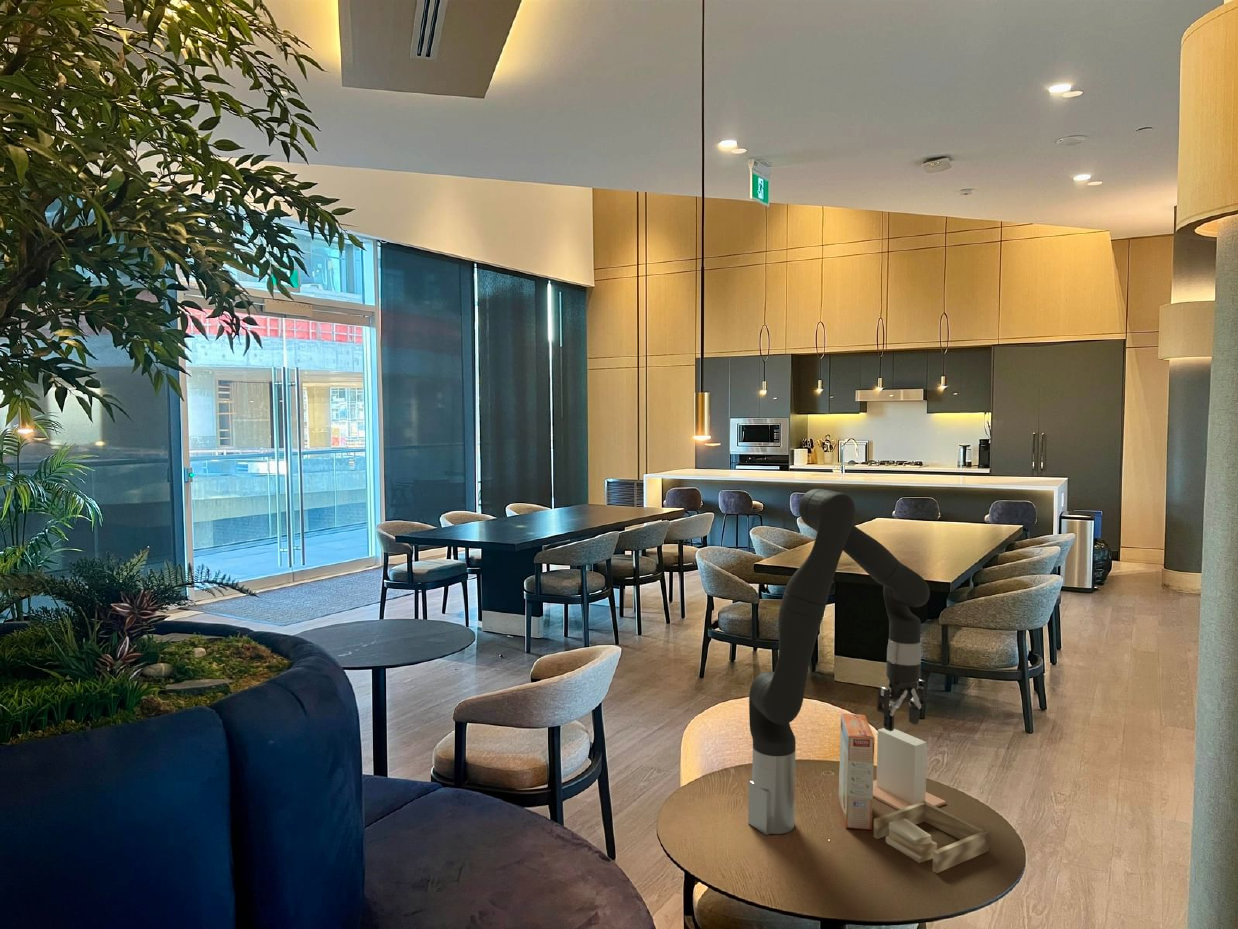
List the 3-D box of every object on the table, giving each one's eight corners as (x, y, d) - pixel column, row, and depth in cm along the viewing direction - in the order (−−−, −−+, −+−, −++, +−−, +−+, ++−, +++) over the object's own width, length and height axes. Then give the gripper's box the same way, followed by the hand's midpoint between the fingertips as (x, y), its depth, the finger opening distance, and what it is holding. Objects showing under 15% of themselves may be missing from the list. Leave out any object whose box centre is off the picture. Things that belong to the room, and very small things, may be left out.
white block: (913, 805, 187) (915, 745, 186) (876, 786, 196) (877, 729, 195) (925, 801, 189) (926, 742, 188) (887, 782, 198) (889, 726, 197)
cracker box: (873, 831, 176) (875, 737, 175) (845, 829, 177) (846, 735, 176) (864, 801, 190) (866, 713, 189) (837, 799, 191) (839, 712, 190)
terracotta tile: (910, 816, 183) (910, 814, 183) (856, 788, 196) (856, 786, 196) (945, 804, 189) (945, 801, 189) (890, 777, 202) (890, 775, 202)
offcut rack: (936, 873, 160) (937, 853, 160) (873, 837, 174) (874, 818, 174) (988, 851, 168) (988, 832, 168) (923, 818, 182) (924, 801, 182)
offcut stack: (919, 864, 164) (919, 843, 163) (885, 843, 172) (885, 822, 171) (937, 858, 166) (938, 837, 166) (903, 837, 174) (903, 817, 174)
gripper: (911, 651, 197) (908, 716, 198) (870, 659, 190) (867, 727, 191) (937, 659, 191) (934, 726, 192) (895, 667, 184) (893, 738, 185)
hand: (901, 726), depth 192 cm, fingers open, 8 cm apart
